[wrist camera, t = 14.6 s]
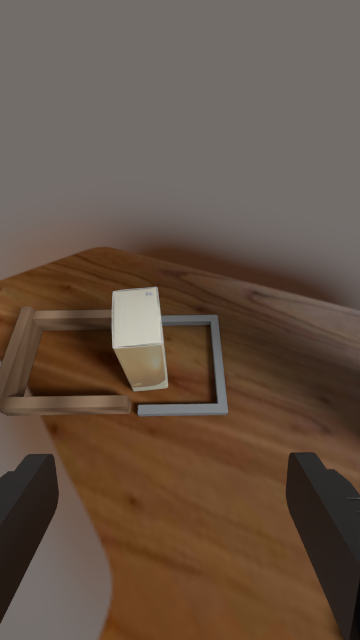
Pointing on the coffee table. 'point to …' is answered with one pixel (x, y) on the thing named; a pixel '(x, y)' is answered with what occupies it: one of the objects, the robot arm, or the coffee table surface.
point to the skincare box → (139, 337)
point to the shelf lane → (12, 377)
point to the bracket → (218, 371)
